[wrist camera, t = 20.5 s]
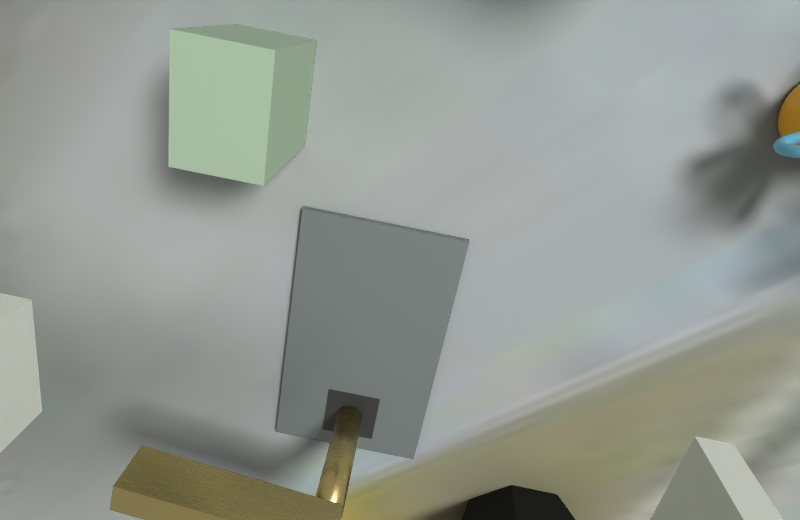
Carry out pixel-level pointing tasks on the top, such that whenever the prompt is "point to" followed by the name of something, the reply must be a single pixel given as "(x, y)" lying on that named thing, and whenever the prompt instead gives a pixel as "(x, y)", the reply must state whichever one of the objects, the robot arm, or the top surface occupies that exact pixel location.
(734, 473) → the robot arm
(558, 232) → the top surface
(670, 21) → the top surface
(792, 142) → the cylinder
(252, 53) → the pale green block
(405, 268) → the plate
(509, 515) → the bottle
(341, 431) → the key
